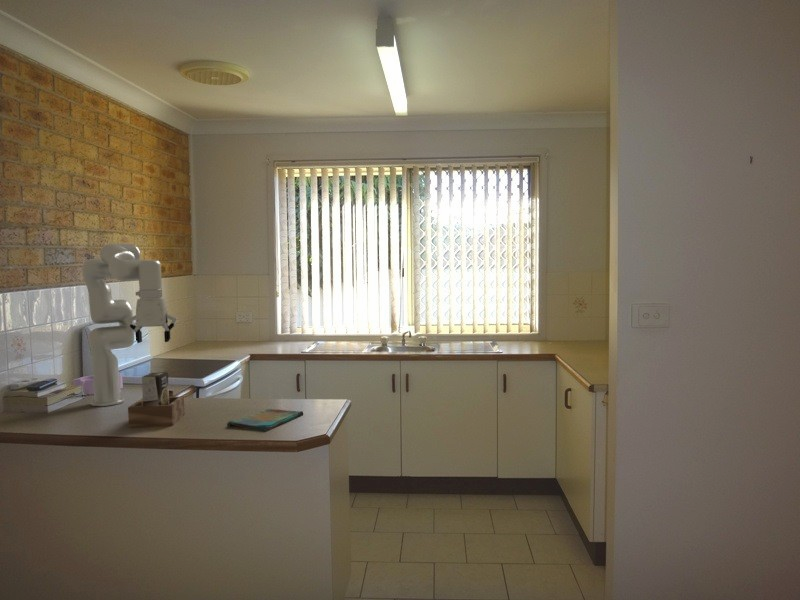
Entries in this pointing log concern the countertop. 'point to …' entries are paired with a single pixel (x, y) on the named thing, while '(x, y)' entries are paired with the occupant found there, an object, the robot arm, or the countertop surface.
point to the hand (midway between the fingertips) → (153, 342)
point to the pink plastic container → (91, 383)
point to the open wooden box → (156, 413)
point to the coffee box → (155, 389)
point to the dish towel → (265, 420)
